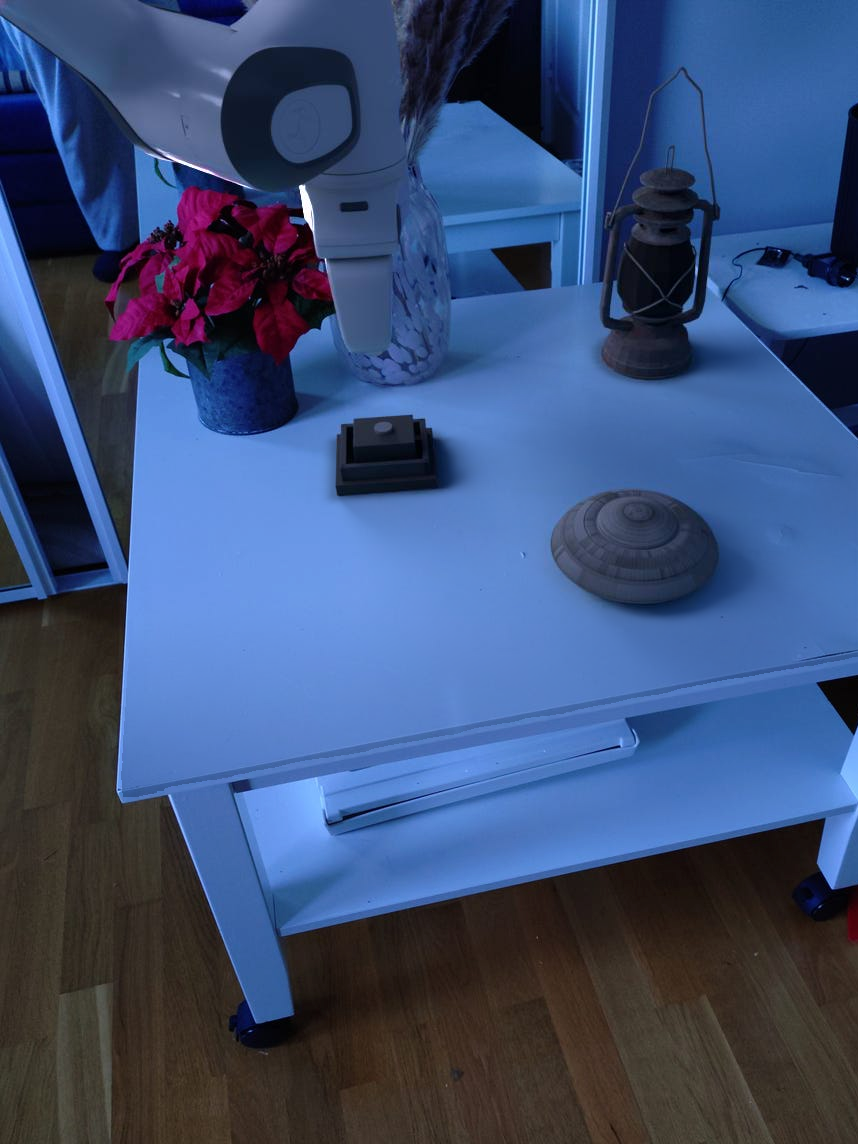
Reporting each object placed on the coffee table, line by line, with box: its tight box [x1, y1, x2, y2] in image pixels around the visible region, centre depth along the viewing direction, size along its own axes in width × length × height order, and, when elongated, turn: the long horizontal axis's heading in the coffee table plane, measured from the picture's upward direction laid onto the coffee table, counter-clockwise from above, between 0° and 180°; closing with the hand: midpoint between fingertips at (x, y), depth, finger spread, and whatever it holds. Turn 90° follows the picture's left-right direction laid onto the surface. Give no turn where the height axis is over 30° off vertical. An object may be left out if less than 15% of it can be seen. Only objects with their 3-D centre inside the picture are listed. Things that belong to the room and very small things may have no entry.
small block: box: [352, 414, 416, 464], centre depth 93 cm, size 6×5×3 cm
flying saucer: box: [550, 488, 720, 605], centre depth 83 cm, size 15×15×6 cm
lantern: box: [599, 66, 721, 380], centre depth 98 cm, size 12×11×30 cm
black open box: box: [335, 418, 439, 496], centre depth 94 cm, size 10×9×3 cm
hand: (373, 348), depth 86 cm, fingers closed
